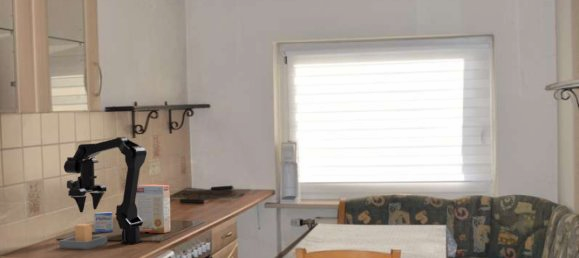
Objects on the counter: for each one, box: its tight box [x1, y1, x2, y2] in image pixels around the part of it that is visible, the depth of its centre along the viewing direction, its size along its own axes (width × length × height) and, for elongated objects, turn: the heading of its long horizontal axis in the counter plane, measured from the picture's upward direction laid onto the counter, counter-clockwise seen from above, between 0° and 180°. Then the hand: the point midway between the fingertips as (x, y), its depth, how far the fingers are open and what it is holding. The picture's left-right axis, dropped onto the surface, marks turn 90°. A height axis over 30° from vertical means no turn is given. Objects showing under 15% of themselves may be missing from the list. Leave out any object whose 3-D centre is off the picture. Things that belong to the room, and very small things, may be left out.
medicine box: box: [93, 211, 114, 234], centre depth 318 cm, size 8×4×9 cm, turn 106°
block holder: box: [59, 235, 108, 251], centre depth 284 cm, size 13×13×3 cm
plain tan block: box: [74, 223, 93, 242], centre depth 284 cm, size 4×4×8 cm
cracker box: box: [136, 184, 172, 234], centre depth 314 cm, size 14×6×21 cm, turn 67°
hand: (88, 210), depth 298 cm, fingers open, 9 cm apart
